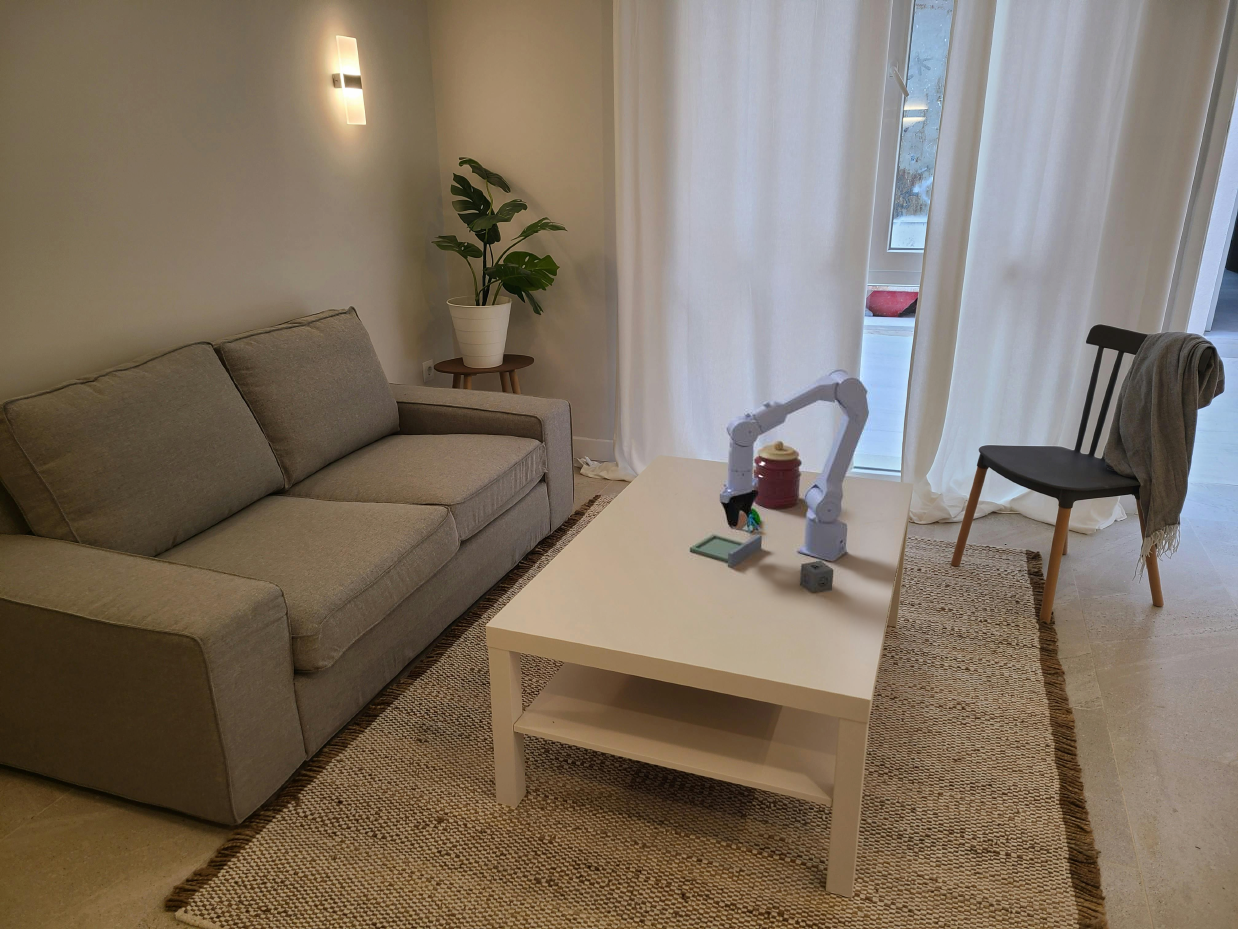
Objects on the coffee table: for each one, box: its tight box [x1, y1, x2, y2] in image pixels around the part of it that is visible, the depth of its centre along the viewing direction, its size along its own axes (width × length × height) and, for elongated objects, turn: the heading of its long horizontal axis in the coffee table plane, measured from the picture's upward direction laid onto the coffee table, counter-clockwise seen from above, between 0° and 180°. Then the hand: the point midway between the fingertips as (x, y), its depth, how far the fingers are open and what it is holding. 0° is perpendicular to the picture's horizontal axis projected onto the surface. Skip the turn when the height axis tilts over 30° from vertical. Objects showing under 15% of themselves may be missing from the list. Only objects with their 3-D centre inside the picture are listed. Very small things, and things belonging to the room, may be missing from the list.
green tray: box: [689, 533, 744, 564], centre depth 210 cm, size 11×11×1 cm
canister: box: [753, 440, 803, 509], centre depth 239 cm, size 13×13×18 cm
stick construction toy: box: [728, 507, 762, 534], centre depth 224 cm, size 12×7×8 cm
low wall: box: [727, 533, 763, 568], centre depth 206 cm, size 1×14×4 cm, turn 142°
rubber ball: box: [731, 511, 748, 530], centre depth 204 cm, size 4×4×4 cm
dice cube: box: [799, 560, 834, 594], centre depth 190 cm, size 5×5×5 cm
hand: (737, 522), depth 205 cm, fingers closed on rubber ball, 4 cm apart
